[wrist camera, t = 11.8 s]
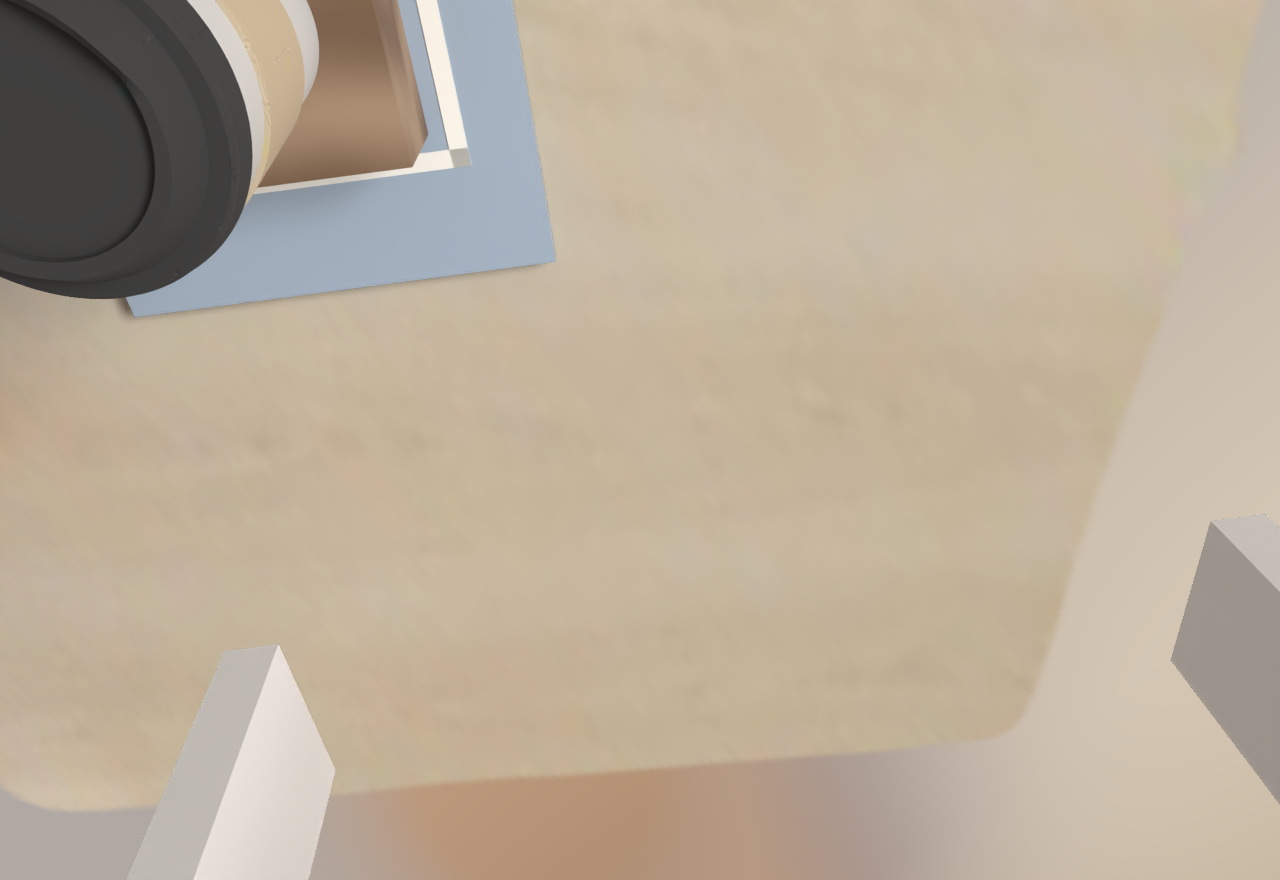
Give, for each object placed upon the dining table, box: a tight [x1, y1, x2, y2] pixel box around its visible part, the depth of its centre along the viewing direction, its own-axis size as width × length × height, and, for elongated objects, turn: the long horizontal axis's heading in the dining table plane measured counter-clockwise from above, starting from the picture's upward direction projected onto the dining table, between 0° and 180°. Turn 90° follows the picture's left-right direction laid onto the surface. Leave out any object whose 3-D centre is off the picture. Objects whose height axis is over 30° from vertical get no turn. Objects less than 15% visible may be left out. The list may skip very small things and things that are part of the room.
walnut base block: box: [257, 0, 428, 188], centre depth 35 cm, size 11×11×5 cm
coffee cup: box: [0, 0, 319, 299], centre depth 26 cm, size 9×9×15 cm
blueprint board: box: [126, 0, 556, 317], centre depth 37 cm, size 24×20×1 cm
